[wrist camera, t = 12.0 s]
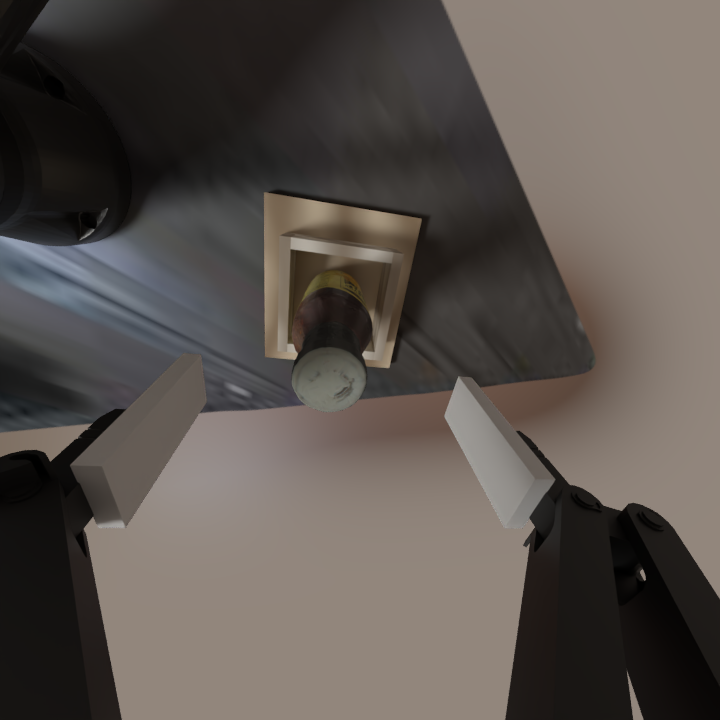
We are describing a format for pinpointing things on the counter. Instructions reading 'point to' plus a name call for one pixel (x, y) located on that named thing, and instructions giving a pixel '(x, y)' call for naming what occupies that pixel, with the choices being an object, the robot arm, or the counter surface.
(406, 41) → the counter surface
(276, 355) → the caddy board
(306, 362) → the sauce bottle
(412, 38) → the counter surface
